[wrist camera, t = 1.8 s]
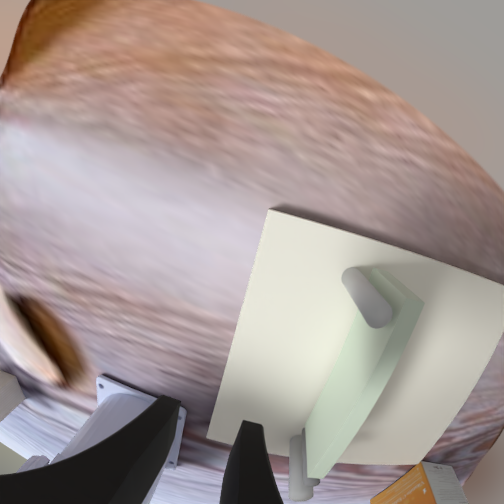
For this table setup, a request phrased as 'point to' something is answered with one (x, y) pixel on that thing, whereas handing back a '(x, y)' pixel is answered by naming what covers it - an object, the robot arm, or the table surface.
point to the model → (9, 394)
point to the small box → (424, 487)
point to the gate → (358, 378)
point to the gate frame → (335, 333)
